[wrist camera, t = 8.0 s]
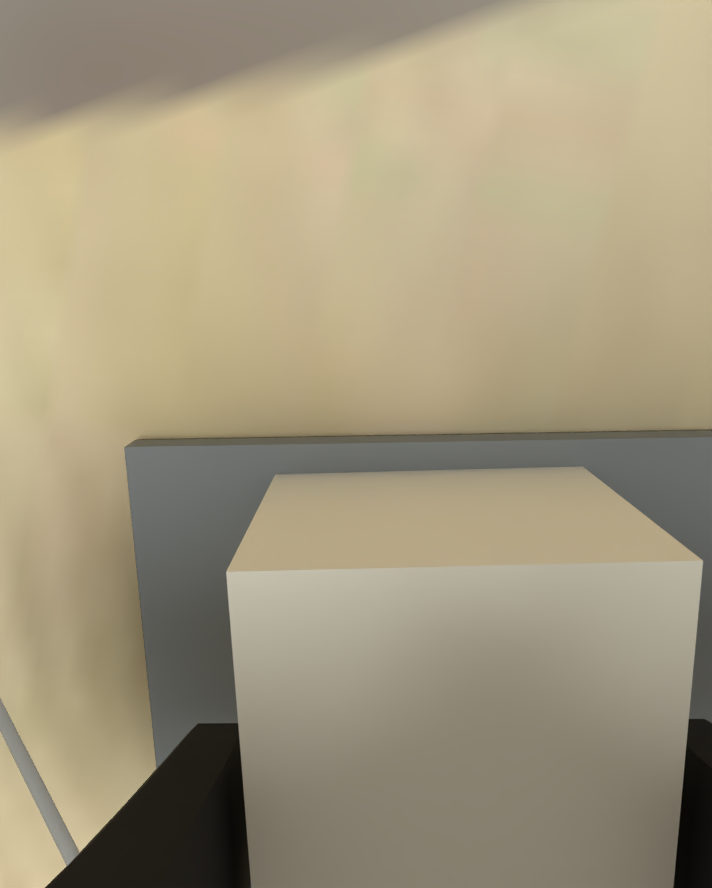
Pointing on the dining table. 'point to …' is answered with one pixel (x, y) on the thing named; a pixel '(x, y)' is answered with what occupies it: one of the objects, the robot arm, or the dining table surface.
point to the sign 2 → (37, 788)
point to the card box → (461, 681)
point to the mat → (258, 460)
